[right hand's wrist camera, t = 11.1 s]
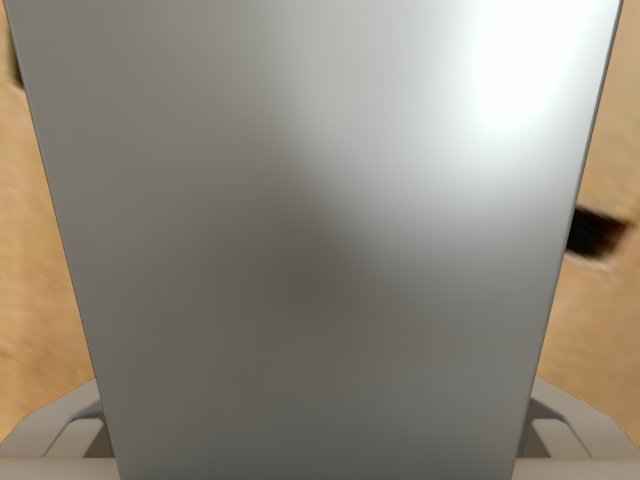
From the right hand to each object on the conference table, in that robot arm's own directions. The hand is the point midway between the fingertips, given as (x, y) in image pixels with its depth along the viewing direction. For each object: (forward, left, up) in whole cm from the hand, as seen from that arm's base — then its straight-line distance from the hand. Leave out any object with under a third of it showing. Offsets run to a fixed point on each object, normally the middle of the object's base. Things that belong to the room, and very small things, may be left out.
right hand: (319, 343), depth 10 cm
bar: (+9, -2, -4) cm, 10 cm away
